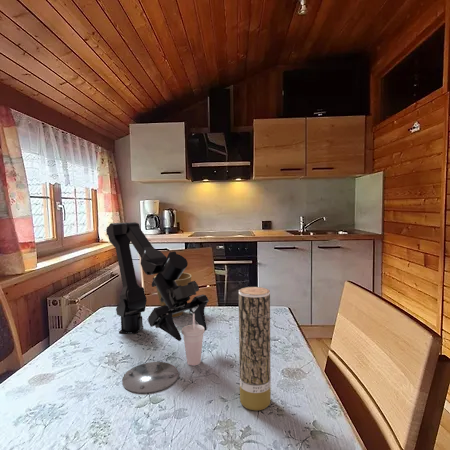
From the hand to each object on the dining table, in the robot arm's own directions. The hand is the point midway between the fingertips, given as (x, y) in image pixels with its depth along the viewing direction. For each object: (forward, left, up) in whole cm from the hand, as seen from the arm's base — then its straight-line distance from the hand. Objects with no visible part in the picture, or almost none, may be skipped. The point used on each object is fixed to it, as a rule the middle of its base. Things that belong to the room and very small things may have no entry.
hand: (193, 335), depth 87 cm
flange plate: (-9, -9, -8) cm, 15 cm away
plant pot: (-18, +38, -8) cm, 43 cm away
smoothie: (0, 0, -8) cm, 8 cm away
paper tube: (+18, -16, -8) cm, 25 cm away
